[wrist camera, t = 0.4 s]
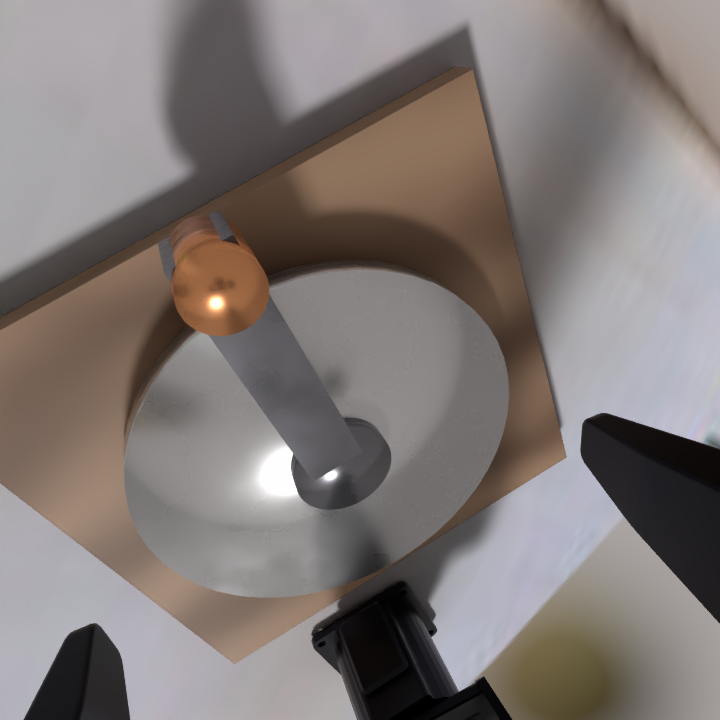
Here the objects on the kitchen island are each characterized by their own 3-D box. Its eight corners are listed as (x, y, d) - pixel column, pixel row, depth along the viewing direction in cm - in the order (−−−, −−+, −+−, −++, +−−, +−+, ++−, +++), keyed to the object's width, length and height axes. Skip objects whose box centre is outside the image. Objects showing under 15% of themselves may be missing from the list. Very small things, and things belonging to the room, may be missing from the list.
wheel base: (552, 444, 32) (566, 457, 31) (230, 643, 30) (234, 664, 29) (454, 66, 19) (472, 69, 18) (-104, 374, 18) (-116, 394, 17)
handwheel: (524, 457, 29) (578, 514, 26) (254, 624, 28) (274, 707, 24) (406, 84, 17) (476, 99, 14) (-62, 341, 16) (-107, 425, 13)
